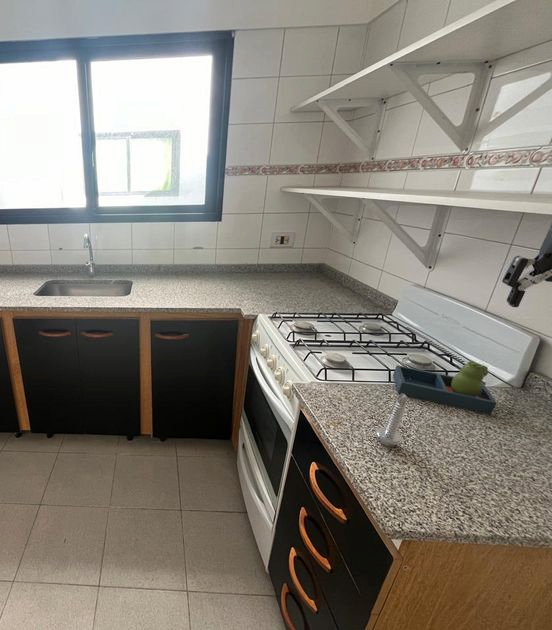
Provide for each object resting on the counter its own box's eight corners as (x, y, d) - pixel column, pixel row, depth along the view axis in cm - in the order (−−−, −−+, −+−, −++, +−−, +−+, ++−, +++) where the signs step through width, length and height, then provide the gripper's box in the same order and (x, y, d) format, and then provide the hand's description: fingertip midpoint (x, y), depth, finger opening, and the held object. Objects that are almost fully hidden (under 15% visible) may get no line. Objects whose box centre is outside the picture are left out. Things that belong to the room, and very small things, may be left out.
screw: (378, 431, 78) (403, 444, 75) (369, 441, 76) (394, 454, 72) (395, 384, 73) (423, 395, 70) (386, 392, 71) (414, 404, 67)
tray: (477, 393, 91) (482, 382, 89) (490, 415, 83) (496, 403, 82) (392, 375, 99) (396, 364, 97) (397, 393, 91) (401, 382, 90)
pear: (442, 391, 90) (456, 359, 86) (456, 387, 92) (470, 355, 88) (468, 404, 85) (484, 370, 81) (481, 399, 87) (497, 366, 83)
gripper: (540, 230, 64) (504, 310, 71) (652, 235, 59) (602, 321, 66) (518, 224, 71) (486, 298, 77) (618, 228, 65) (575, 307, 72)
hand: (540, 308), depth 71 cm, fingers open, 8 cm apart
